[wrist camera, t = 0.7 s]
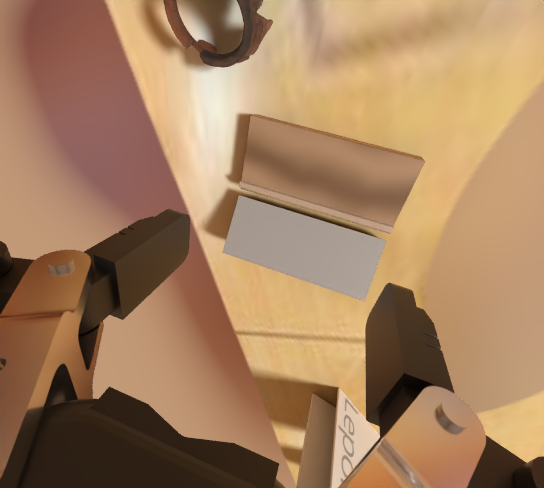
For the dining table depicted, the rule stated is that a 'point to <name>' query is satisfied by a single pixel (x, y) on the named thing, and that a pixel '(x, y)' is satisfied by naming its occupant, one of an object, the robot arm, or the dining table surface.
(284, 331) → the dining table surface
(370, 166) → the glossy brown slab
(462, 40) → the dining table surface
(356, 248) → the slate plank
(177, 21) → the pottery mug
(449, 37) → the dining table surface
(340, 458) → the brochure
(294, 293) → the dining table surface
